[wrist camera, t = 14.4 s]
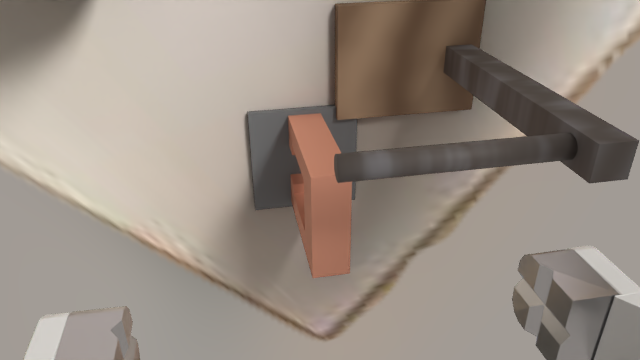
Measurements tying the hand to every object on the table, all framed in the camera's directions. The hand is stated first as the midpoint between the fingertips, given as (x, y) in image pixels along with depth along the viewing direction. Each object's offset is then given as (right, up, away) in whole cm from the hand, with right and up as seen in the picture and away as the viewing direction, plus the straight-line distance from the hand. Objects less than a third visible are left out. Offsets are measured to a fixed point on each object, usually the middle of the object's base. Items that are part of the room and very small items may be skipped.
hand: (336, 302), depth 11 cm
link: (-2, +4, +39) cm, 40 cm away
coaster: (-2, +5, +40) cm, 40 cm away
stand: (+5, +13, +37) cm, 39 cm away
